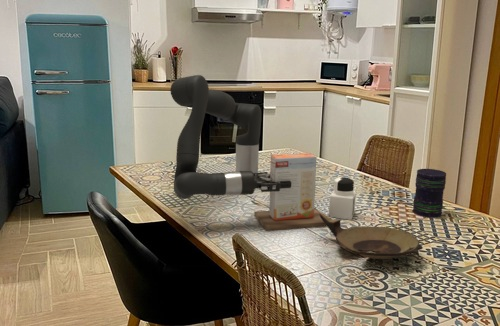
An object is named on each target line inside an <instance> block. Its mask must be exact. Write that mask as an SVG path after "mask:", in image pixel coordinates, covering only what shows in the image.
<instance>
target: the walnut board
mask: <svg viewBox="0 0 500 326" xmlns="http://www.w3.org/2000/svg"><path fill="white" fill-rule="evenodd" d="M269 211H270V210H261V211H260V210H259V211H254V213H253V216H254V217H255V219H256V220H257V221H258V222H259V224H260V225H261V227H263V229H264V230H265V231H266V232H270V231H284V230H297V229H307V228H308V229H309V228H322V227H327V225H326V224H325V223H324V222H323V220H322V219H321V217H320V214H321V213H322V212H321V211H320V210H319V209H317V208H316V207H314V217H313V218H300V219H288V220H277V221H274V220H273V219H272V217H271V216H270V215H269Z"/></svg>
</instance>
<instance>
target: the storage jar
mask: <svg viewBox="0 0 500 326" xmlns="http://www.w3.org/2000/svg"><path fill="white" fill-rule="evenodd" d="M446 177H447V173H446V172H445V171H443V170H439V169H434V168H420V169H417V170H416V176H415V184H414V185H415V193H414V194H415V195H414V197H413V202H412V203H413V204H412V207H413V208H412V213H413V214H414V215H416V216H419V217H422V218H423V217H424V218H429V219H431V218H433V219H435V218H439V217H441V216H442V211H443V207H444V205H443V204H444V199H443V197H444V191H445V189H446V183H447V181H446V180H447V178H446Z"/></svg>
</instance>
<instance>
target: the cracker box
mask: <svg viewBox="0 0 500 326" xmlns="http://www.w3.org/2000/svg"><path fill="white" fill-rule="evenodd" d="M269 167H270V171H269V172H270V179H273V180H274V181H291V188H280V191H275V192H269V210H268V211H269V215H270V216H271V217H272V219H273V220H274V221H277V220H288V219H300V218H313V217H314V208H315V203H316V202H315V196H316V178H317V156H316V155H314V154H312V153H310V152H307V153H304V152H303V153H285V154H284V153H283V154H270V166H269ZM273 186H274V187H276V185H273Z"/></svg>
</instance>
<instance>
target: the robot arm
mask: <svg viewBox="0 0 500 326" xmlns="http://www.w3.org/2000/svg"><path fill="white" fill-rule="evenodd" d="M169 92H170V95H171V99H173V101H174V102H175V103H176V104H178V106H181V107H185V108H189V109H190V108H191V112H190V114H189V116H188V119H187V121H186V123H184V124H185V125H184V126H183V128H182V130H181V132H179V133H180V134H179V136H178V139H177V144H176V156H175V157H176V158H175V159H176V160H175V161H176V165H175V166H176V167H175V172H174V180H173V191H174V193H175V195H176V196H177V197H178V198H180V199H183V200H186V199H190V198H191V197H193V196H194V195H208V196H243V195H247V196H248V195H253V194H254V193H255V190H256V189H259V190H260V192H261V193H270V192H275V191H280V188H291V181H274V180H273V179H270V173H268V171H262V172H261V171H260V172H259V154H260V153H259V149H260V147H259V146H260V137H261V128H262V127H261V125H262V109H261V107H260V105H258V104H253V103H241V102H240V103H239V102H235V99H234V98H233V96H231V95H230V94H228V93H226V92H225V91H221V90H219V89H218V90H217V89H213V88H212V89H210V87H209V84H208V81H207V79H206V78H205V77H204V76H203V75H202V74H201V75H200V74H197V75H195V74H194V75H190V76H189V75H188V76H185V77H179V78H177V79H175V80H174V81H173V82H172V83H171V85H170V91H169ZM206 114H208V115H211V116H214V117H216V118H219V119H223V120H228V121H229V122H231V124H234V125H235V126H236V127H237V126H238V127H244V128H247V132H245V133H243V134H240V135H237V136H236V138H235V139H236V140H235V170H234V171H233V170H232V171H227V172H213V173H211V172H210V173H208V172H207V173H206V172H197V168H198V166H199V159H200V147H201V146H200V145H201V144H200V143H201V135H202V128H203V124H204V122H205V121H204V120H205V117H206ZM273 185H276V187H274V186H273Z"/></svg>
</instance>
